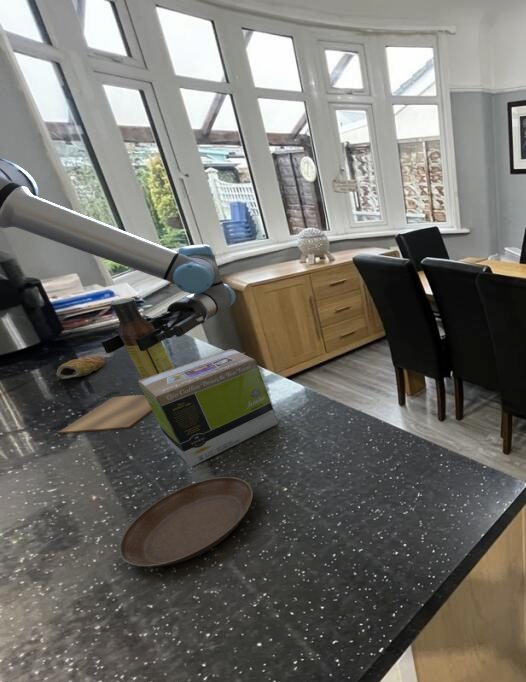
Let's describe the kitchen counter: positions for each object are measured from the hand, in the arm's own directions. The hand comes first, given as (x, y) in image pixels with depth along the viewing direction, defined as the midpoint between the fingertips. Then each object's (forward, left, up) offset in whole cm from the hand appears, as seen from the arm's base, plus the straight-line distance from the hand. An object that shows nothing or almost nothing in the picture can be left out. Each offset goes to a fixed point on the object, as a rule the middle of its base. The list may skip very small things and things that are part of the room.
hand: (122, 346), depth 85 cm
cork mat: (0, -7, -12) cm, 14 cm away
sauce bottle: (0, +5, -11) cm, 12 cm away
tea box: (+28, -19, -13) cm, 36 cm away
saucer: (+36, -41, -13) cm, 56 cm away
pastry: (-26, +15, -13) cm, 33 cm away
